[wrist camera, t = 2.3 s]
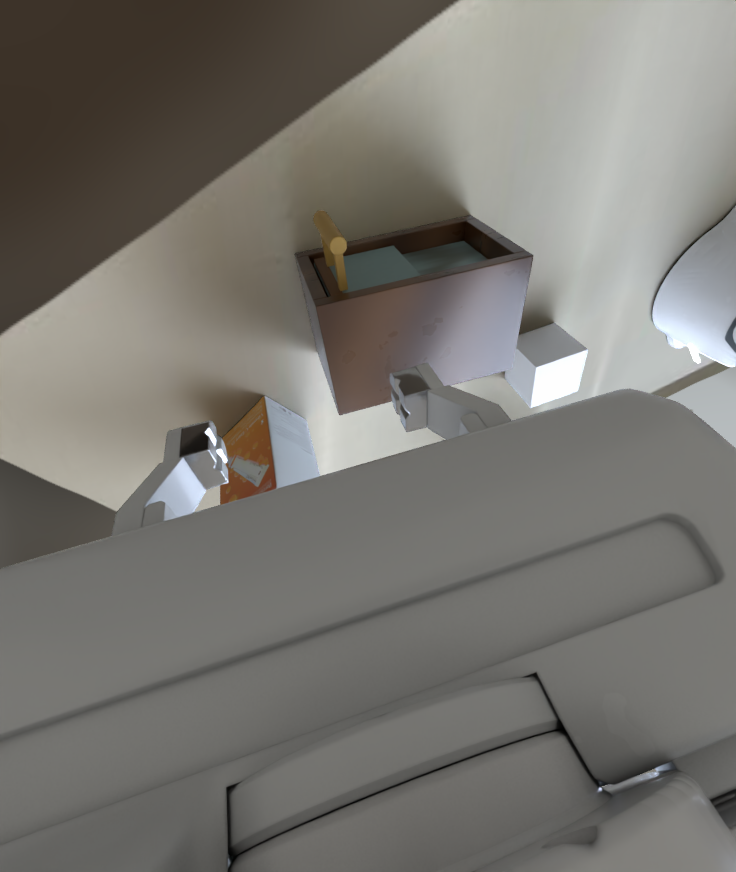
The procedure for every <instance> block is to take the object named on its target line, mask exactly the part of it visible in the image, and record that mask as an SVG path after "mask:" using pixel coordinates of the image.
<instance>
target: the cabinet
mask: <svg viewBox="0 0 736 872" xmlns="http://www.w3.org/2000/svg"><path fill="white" fill-rule="evenodd" d="M389 246H394V247H395V248H396V249H397V250H398V251H399V252H400V253H401V254H402V255H403V256H404V258H405V259H406V260H407V261H408V262H409V263H410V264H411V265H412V266H413V267H414V268H415V269H416V271H417V272H418V273H419V274H420V276H416V277H412V278H408V279H403V280H399V281H395V282H390V283H386V284H382V285H378V286H373V287H369V288H365V289H360V290H356V291H352V292H348V293H343V294H339V295H335V296H330V297H328V295H327V293H326V291H325V289H324V287H323V285H322V282H321V280H320V278H319V276H318V274H317V272H316V270H315V267H314V259H317V258H322V257H324V258H325V256H324V250H323V248H318V249H314V250H309V251H305V252H300V253H295V258H296V263H297V267H298V271H299V275H300V280H301V284H302V288H303V292H304V297H305V301H306V305H307V309H308V314H309V318H310V322H311V326H312V331H313V335H314V339H315V343H316V348H317V352H318V355H319V358H320V361H321V364H322V367H323V370H324V373H325V376H326V378H327V381H328V384H329V387H330V390H331V393H332V396H333V399H334V402H335V405H336V408H337V410H338V413H339V415H343V414H347V413H350V412H354V411H358V410H361V409H365V408H369V407H373V406H376V405H380V404H384V403H387V402H391V401H392V398H391V390H392V388H393V387H392V385H391V383H390V373H393V372H396V371H400V370H404V369H407V368H411V367H414V366H417V365H420V364H424V363H428V364H429V365H430V366H431V368H432V369H433V371H434V372H435V373H436V375H437V376H438V378H439V379H440V381H441V382H442V383H443V385H444V386H447V385H449V386H450V385H454V384H458V383H462V382H465V381H469V380H473V379H476V378H480V377H484V376H488V375H491V374H495V373H499V372H502V371H506V370H510V369H512V367H513V362H514V356H515V351H516V346H517V340H518V335H519V330H520V324H521V319H522V314H523V308H524V303H525V298H526V293H527V287H528V282H529V277H530V271H531V266H532V261H533V255H532V254H530V253H529V252H527V251H526V250H524V249H523V248H521V247H520V246H518V245H516V244H515V243H513V242H512V241H510V240H509V239H507V238H506V237H504V236H502V235H501V234H499V233H498V232H496V231H495V230H493V229H492V228H490V227H488V226H487V225H485V224H484V223H482V222H481V221H479V220H478V219H476V218H474V217H473V216H471V215H469V216H465V217H460V218H456V219H451V220H446V221H442V222H437V223H433V224H428V225H424V226H419V227H414V228H410V229H405V230H401V231H396V232H392V233H387V234H382V235H378V236H373V237H369V238H364V239H360V240H355V241H350V242H347V249H346V251H345V252H344V253H343V257H344V256H348V255H353V254H357V253H362V252H366V251H371V250H375V249H380V248H384V247H389ZM333 259H334V258H333Z"/></svg>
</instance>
